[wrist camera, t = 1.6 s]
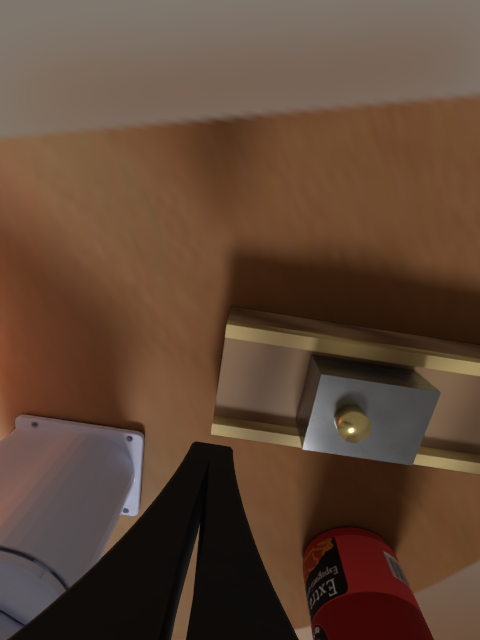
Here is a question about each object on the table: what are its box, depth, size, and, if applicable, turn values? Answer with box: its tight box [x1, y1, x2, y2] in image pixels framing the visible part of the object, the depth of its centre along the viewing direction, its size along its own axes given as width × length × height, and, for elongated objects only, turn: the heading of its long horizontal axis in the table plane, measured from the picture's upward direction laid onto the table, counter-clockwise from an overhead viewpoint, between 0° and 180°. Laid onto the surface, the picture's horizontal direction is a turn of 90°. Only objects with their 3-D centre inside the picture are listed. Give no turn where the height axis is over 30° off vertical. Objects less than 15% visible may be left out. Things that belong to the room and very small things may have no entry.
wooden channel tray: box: [211, 307, 480, 474], centre depth 19 cm, size 18×7×4 cm, turn 81°
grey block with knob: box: [295, 354, 441, 465], centre depth 16 cm, size 6×4×3 cm
